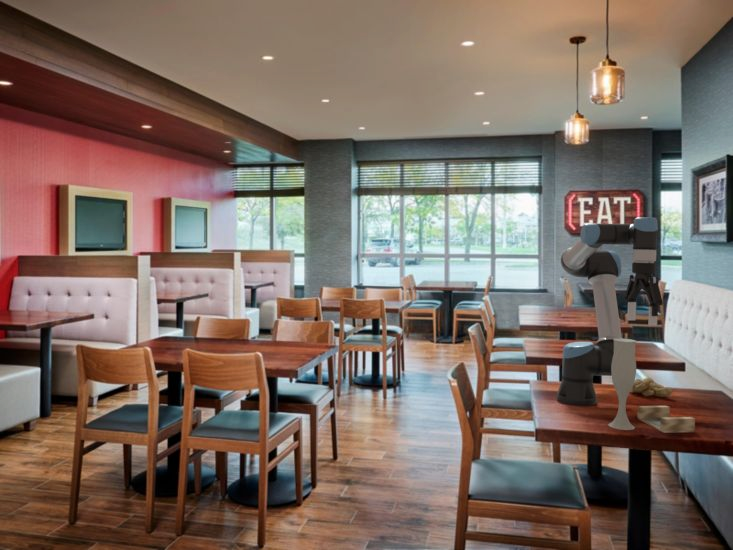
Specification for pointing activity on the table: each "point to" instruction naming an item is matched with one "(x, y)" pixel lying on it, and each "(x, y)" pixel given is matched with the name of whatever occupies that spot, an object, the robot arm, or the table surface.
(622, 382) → the vase
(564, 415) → the table surface
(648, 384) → the ginger root
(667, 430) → the u rest
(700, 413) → the table surface
